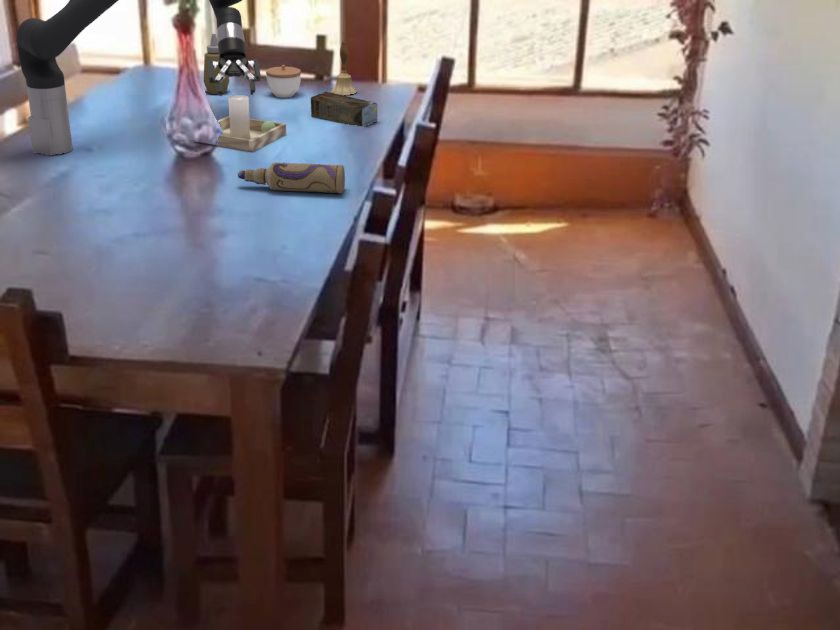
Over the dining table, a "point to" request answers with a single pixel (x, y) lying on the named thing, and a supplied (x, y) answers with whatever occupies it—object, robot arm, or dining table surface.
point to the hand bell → (344, 75)
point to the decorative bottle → (299, 177)
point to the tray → (256, 135)
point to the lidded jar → (283, 81)
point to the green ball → (267, 126)
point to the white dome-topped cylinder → (239, 116)
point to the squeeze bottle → (214, 56)
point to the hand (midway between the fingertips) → (236, 94)
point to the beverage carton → (343, 109)
